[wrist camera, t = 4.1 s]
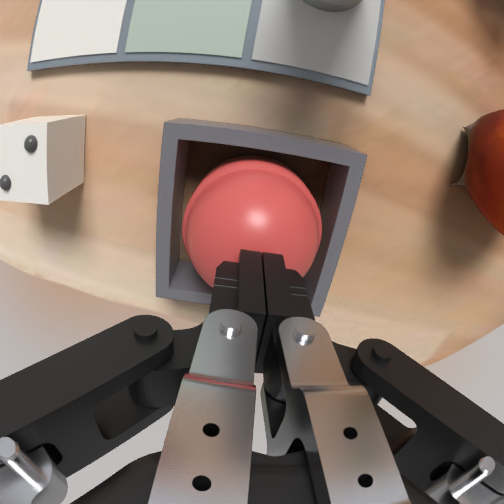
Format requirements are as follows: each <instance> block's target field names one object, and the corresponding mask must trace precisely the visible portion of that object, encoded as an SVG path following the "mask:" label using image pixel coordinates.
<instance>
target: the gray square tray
mask: <svg viewBox="0 0 504 504" xmlns="http://www.w3.org/2000/svg"><path fill="white" fill-rule="evenodd" d="M189 140H192V141H202V142H210V143H219V144H227V145H234V146H241V147H248V148H255V149H261V150H268V151H274V152H280V153H286V154H291V155H297V156H302V157H307V158H312V159H317V160H322V161H327V162H331V165H330V170H329V174H328V179H327V183H326V187H325V191H324V196H323V200H322V204H321V208H320V216H321V222H322V236H321V241H320V245H319V248H318V251H317V253H316V255H315V258H314V261H313V263H312V265H311V267H310V269H309V270H308V272H307V273H306V274H305V276H304V277H303V278H304V282H305V286H306V289H307V293H308V297H309V300H310V304H311V307H312V311H313V315H314V316H319V317H320V314H321V311H322V309H323V306H324V303H325V300H326V297H327V294H328V291H329V288H330V285H331V282H332V279H333V276H334V273H335V269H336V266H337V263H338V260H339V257H340V253H341V250H342V247H343V244H344V240H345V237H346V233H347V230H348V227H349V223H350V220H351V216H352V212H353V209H354V205H355V201H356V198H357V194H358V190H359V186H360V182H361V179H362V175H363V171H364V166H365V162H366V158H367V155H366V154H364V153H362V152H360V151H358V150H356V149H354V148H352V147H350V146H348V145H344V144H340V143H336V142H331V141H327V140H322V139H318V138H313V137H308V136H303V135H298V134H293V133H287V132H282V131H276V130H270V129H264V128H258V127H251V126H244V125H237V124H230V123H222V122H213V121H204V120H194V119H183V118H177V119H174V120H170V121H166V122H164V127H163V137H162V148H161V159H160V172H159V187H158V205H157V231H156V297H161V298H167V299H174V300H181V301H188V302H195V303H202V304H209V305H210V304H211V298H212V292H213V288H212V287H211V286H210V285H208V284H207V283H206V282H205V281H204V280H203V278H202V277H201V276H200V275H199V274H198V272H197V271H196V269H195V268H194V266H193V264H192V262H188V261H180V260H179V253H180V236H181V221H182V208H183V196H184V185H185V174H186V164H187V155H188V146H189Z"/></svg>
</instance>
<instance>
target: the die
mask: <svg viewBox="0 0 504 504" xmlns="http://www.w3.org/2000/svg"><path fill="white" fill-rule="evenodd" d="M85 125H86V115H62V116H42V117H32V118H27V119H22V120H18V121H13V122H9V123H5V124H1V125H0V200H3V201H14V202H25V203H35V204H45V205H49V204H51V203H52V202H54V201H55V200H57V199H58V198H60V197H61V196H63V195H64V194H66V193H68V192H69V191H71V190H72V189H74V188H75V187H77V186H79V185H80V184H82V183H84V147H85Z"/></svg>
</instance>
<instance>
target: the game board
mask: <svg viewBox="0 0 504 504" xmlns="http://www.w3.org/2000/svg"><path fill="white" fill-rule="evenodd" d="M384 2H385V0H362V1H361V2H360V3H359V4H357V5H356V6H355V7H353V8H351V9H349V10H346V11H342V12H328V11H323V10H319V9H317V8H314V7H312V6H310V5H308V4H307V3H305V2H304V1H302V0H40V4H39V8H38V13H37V17H36V22H35V26H34V31H33V37H32V42H31V48H30V54H29V61H28V69H27V71H35V70H41V69H48V68H56V67H64V66H73V65H83V64H97V63H116V62H170V63H190V64H204V65H215V66H225V67H233V68H241V69H249V70H256V71H262V72H268V73H274V74H280V75H285V76H290V77H295V78H300V79H305V80H310V81H314V82H318V83H323V84H327V85H331V86H335V87H338V88H342V89H346V90H350V91H353V92H357V93H360V94H363V95H367V96H370V94H371V88H372V83H373V77H374V72H375V66H376V60H377V53H378V47H379V40H380V33H381V26H382V18H383V10H384Z"/></svg>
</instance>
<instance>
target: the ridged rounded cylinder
mask: <svg viewBox="0 0 504 504" xmlns="http://www.w3.org/2000/svg"><path fill="white" fill-rule="evenodd" d="M302 1H304V2H305V3H307V4H308V5H310V6H312V7H314V8H317V9H319V10H323V11H328V12H342V11H346V10H349V9H351V8H353V7H355V6H356V5H357V4H359V3H360V2H361V1H362V0H302Z"/></svg>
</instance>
